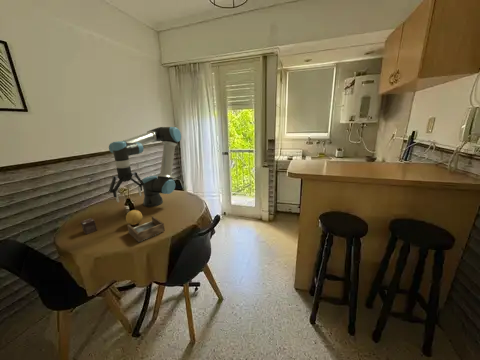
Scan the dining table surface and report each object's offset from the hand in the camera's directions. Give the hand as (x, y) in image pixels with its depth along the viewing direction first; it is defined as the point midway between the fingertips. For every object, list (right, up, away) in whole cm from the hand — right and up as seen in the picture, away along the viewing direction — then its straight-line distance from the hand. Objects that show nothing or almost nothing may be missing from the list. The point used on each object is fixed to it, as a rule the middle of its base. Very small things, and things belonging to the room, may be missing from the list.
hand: (129, 198), depth 131 cm
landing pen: (+13, -21, -4) cm, 25 cm away
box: (-24, -21, -2) cm, 32 cm away
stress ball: (+1, -18, +6) cm, 19 cm away
